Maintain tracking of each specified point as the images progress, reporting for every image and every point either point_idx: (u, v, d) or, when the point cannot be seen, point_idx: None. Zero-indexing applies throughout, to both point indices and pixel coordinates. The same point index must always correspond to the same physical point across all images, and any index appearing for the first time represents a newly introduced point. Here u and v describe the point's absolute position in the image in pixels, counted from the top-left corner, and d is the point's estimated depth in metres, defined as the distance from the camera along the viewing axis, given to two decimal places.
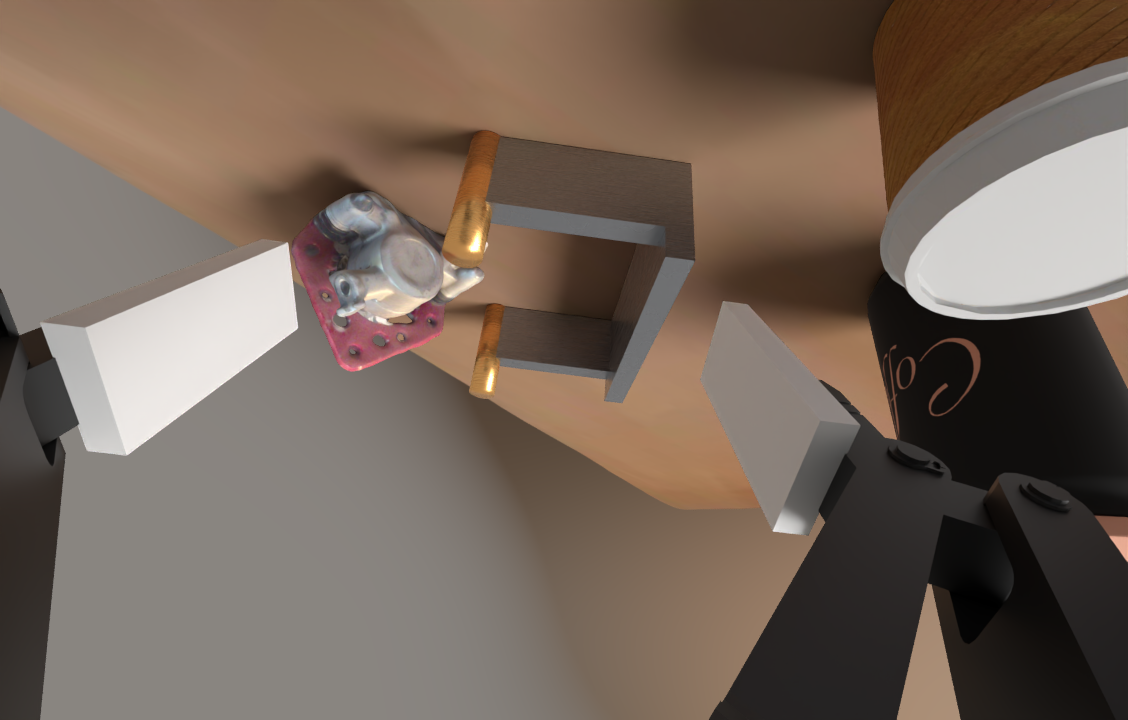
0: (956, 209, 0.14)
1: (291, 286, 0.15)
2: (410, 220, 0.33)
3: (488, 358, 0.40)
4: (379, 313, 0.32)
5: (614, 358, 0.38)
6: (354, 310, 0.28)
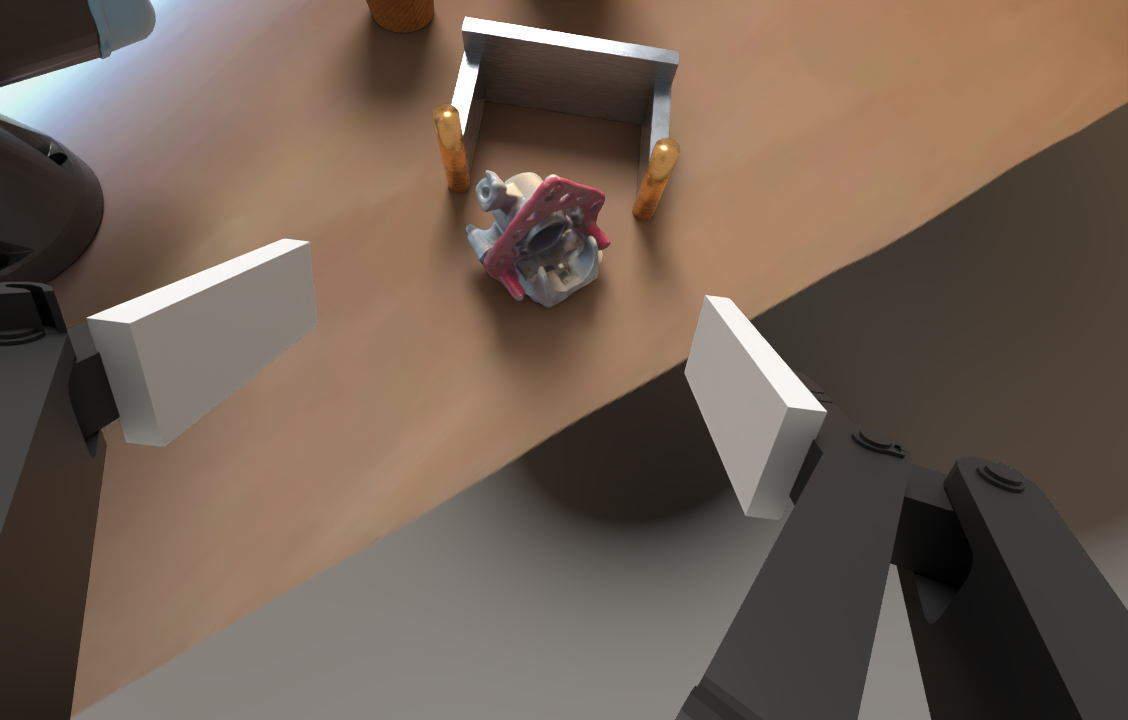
0: None
1: (312, 284, 0.15)
2: None
3: (646, 169, 0.40)
4: None
5: (625, 75, 0.43)
6: (494, 177, 0.34)
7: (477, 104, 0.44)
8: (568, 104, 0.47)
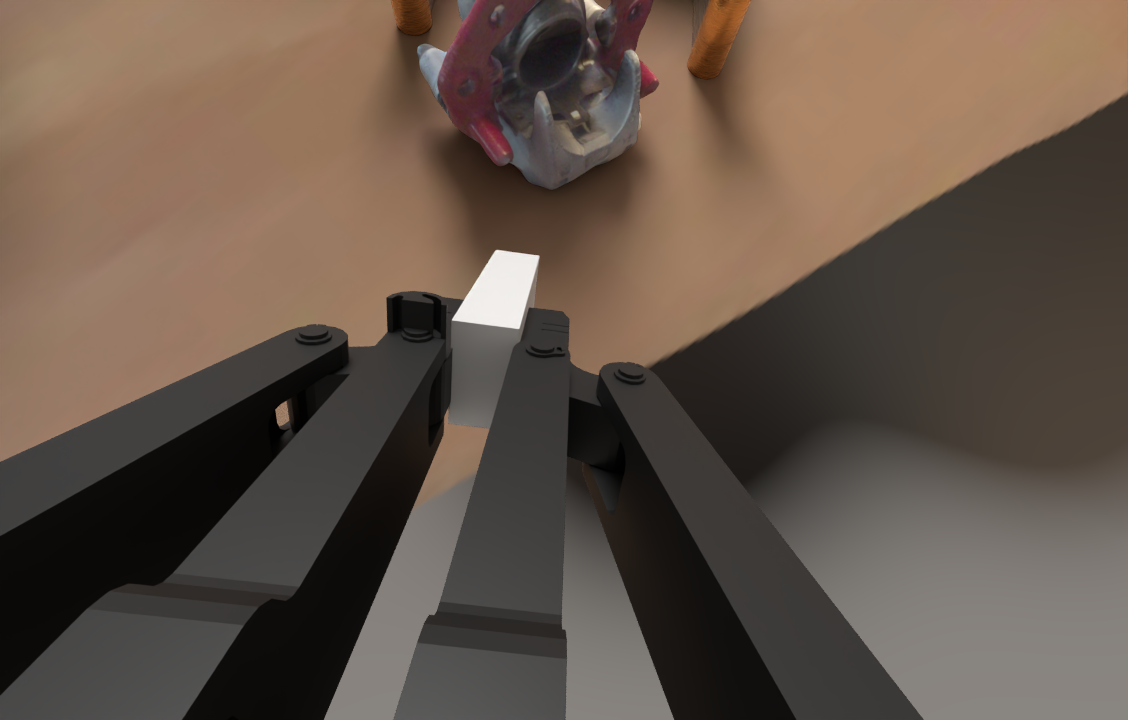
0: None
1: None
2: None
3: None
4: None
5: None
6: None
7: None
8: None
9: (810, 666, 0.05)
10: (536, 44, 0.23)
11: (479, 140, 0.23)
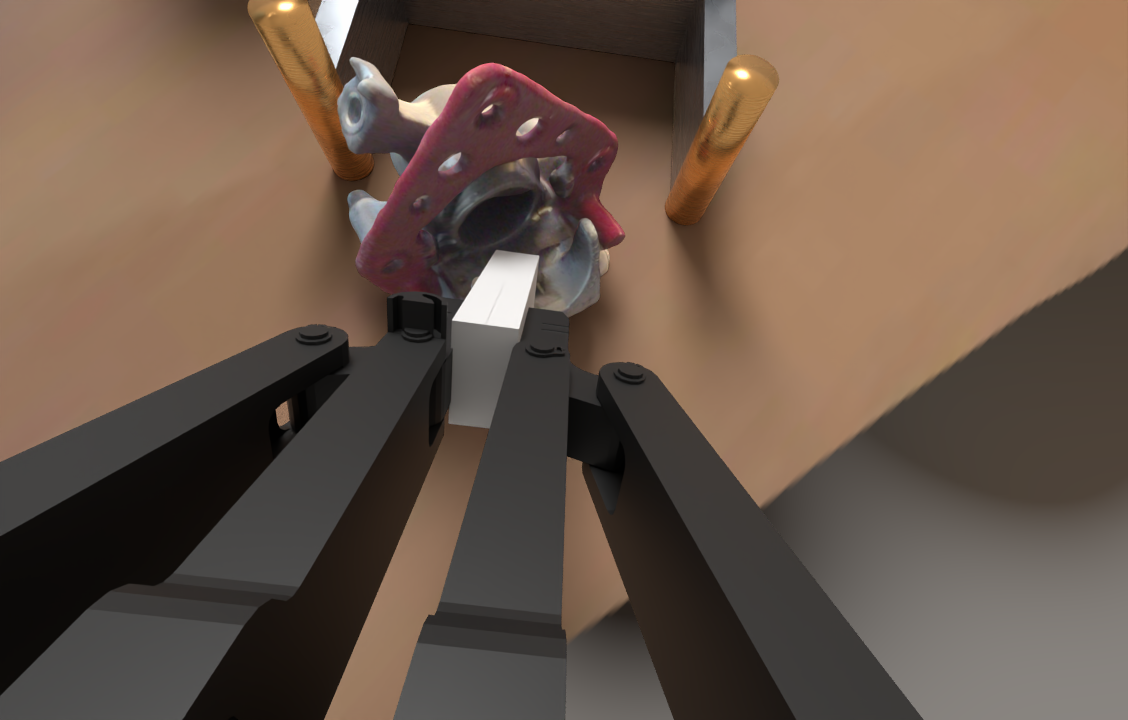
0: None
1: None
2: None
3: (700, 125, 0.20)
4: None
5: None
6: (370, 72, 0.15)
7: (382, 19, 0.24)
8: (549, 26, 0.27)
9: (809, 666, 0.05)
10: None
11: None
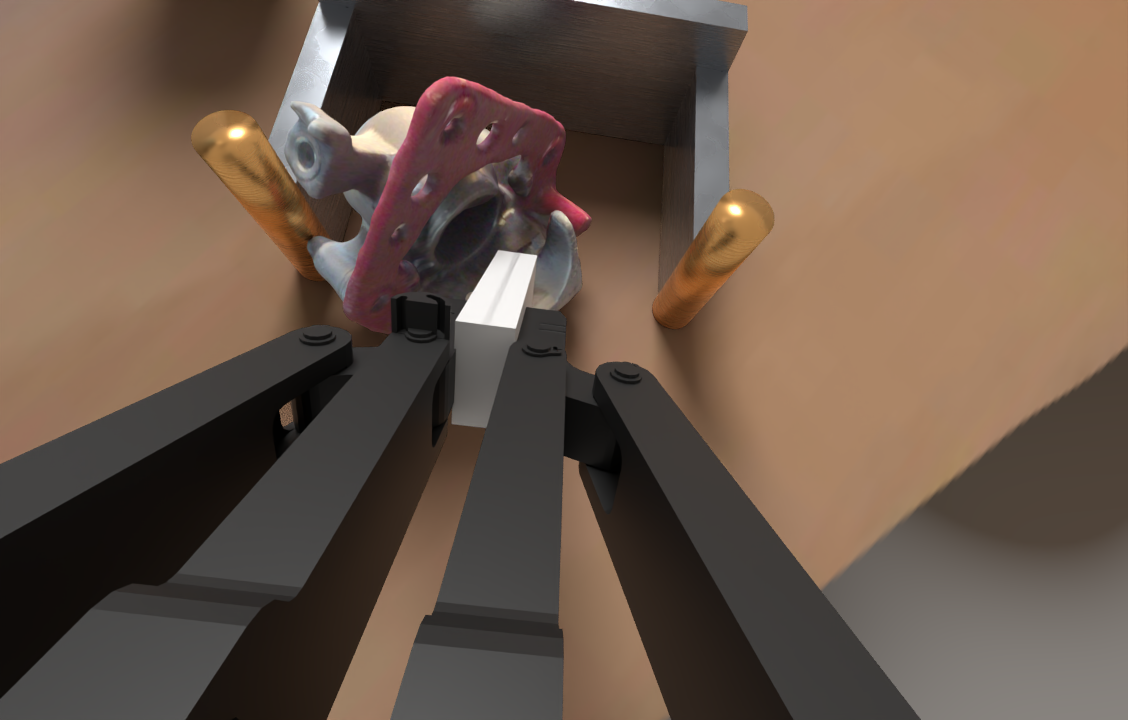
0: None
1: None
2: None
3: (690, 248, 0.19)
4: None
5: (640, 53, 0.22)
6: (315, 113, 0.15)
7: (352, 108, 0.23)
8: (532, 108, 0.26)
9: (806, 665, 0.05)
10: None
11: None
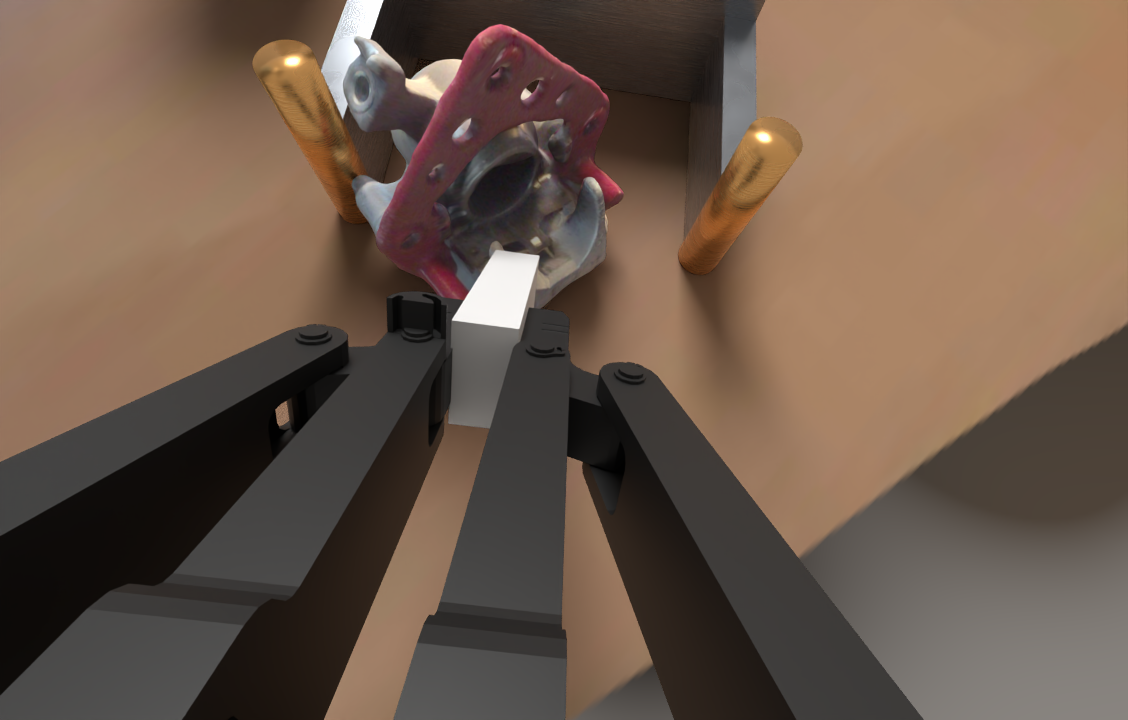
0: None
1: None
2: None
3: (718, 182, 0.20)
4: None
5: (670, 2, 0.23)
6: (375, 49, 0.16)
7: None
8: None
9: (810, 666, 0.05)
10: None
11: (431, 286, 0.20)
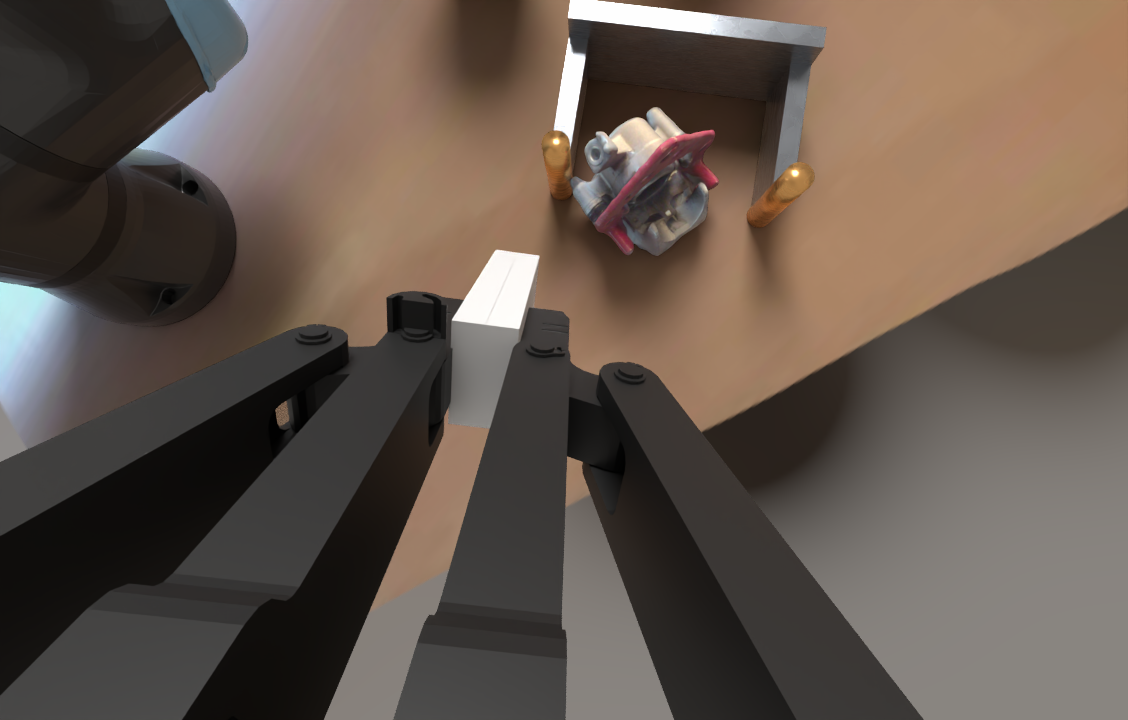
0: None
1: None
2: None
3: (770, 188, 0.36)
4: (650, 154, 0.35)
5: (755, 57, 0.37)
6: (605, 138, 0.33)
7: (581, 97, 0.40)
8: (682, 82, 0.41)
9: (810, 666, 0.05)
10: None
11: (614, 240, 0.39)
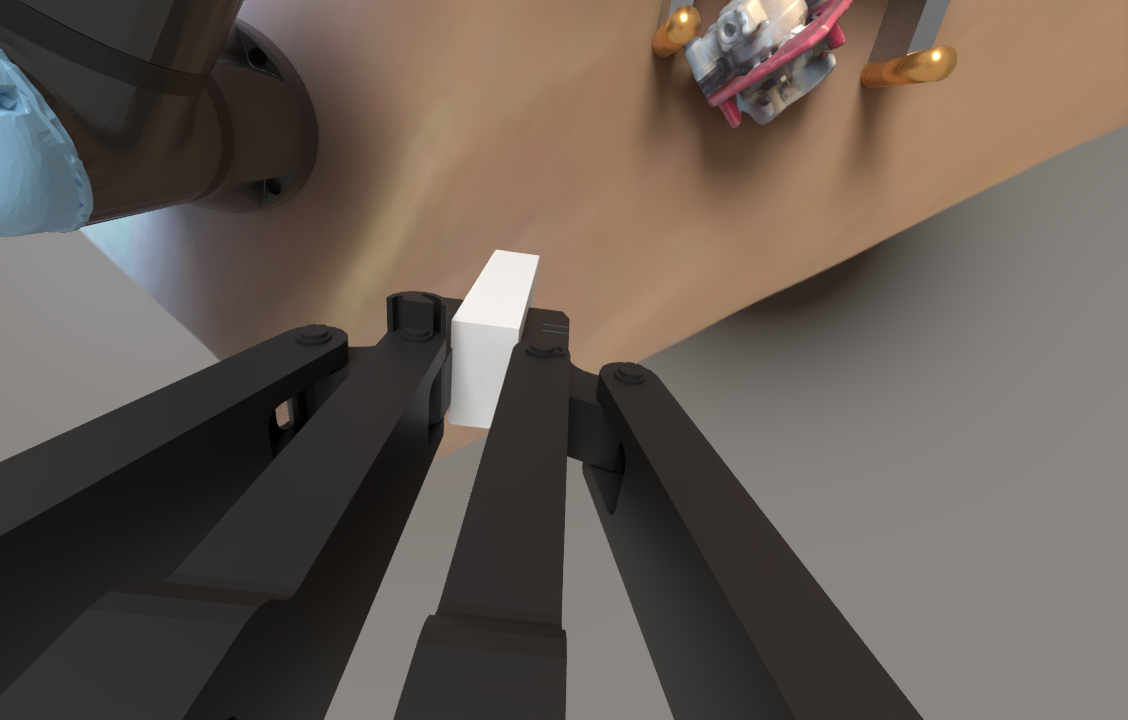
0: None
1: None
2: None
3: (902, 63, 0.34)
4: (787, 25, 0.32)
5: None
6: (746, 16, 0.30)
7: None
8: None
9: (810, 666, 0.05)
10: None
11: (722, 112, 0.38)
